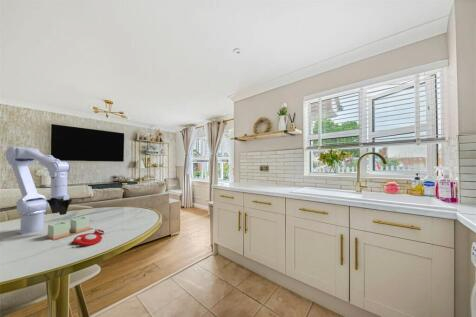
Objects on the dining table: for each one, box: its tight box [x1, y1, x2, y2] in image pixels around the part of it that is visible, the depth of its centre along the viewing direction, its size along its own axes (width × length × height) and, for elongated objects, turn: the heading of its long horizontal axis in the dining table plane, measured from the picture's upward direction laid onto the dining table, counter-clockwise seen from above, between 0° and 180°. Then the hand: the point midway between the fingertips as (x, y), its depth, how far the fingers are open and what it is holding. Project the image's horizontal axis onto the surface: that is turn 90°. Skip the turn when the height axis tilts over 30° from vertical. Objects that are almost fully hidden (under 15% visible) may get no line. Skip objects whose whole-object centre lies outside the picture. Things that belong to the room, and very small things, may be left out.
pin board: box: [44, 227, 94, 241], centre depth 86 cm, size 10×15×4 cm, turn 155°
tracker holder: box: [71, 228, 106, 247], centre depth 78 cm, size 12×4×10 cm
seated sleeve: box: [69, 216, 91, 232], centre depth 90 cm, size 6×6×6 cm
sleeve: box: [47, 221, 70, 239], centre depth 83 cm, size 6×6×6 cm
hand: (59, 213), depth 89 cm, fingers open, 7 cm apart
